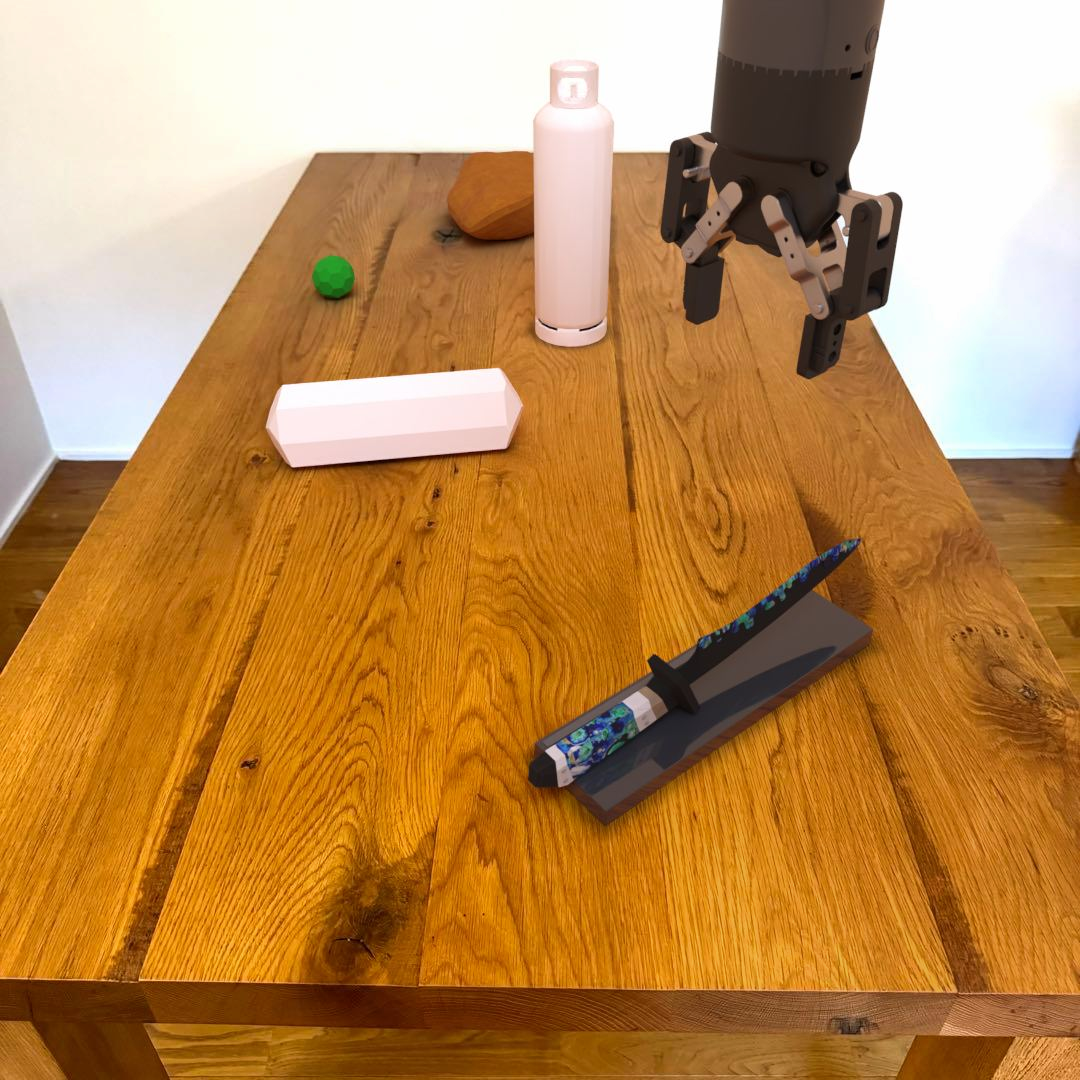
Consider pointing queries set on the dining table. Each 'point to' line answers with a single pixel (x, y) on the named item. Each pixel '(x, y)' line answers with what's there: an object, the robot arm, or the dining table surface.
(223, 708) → the dining table surface
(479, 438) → the crystal
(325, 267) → the polyhedron
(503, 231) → the orange brown rock
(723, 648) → the knife
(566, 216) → the bottle
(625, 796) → the slate board
